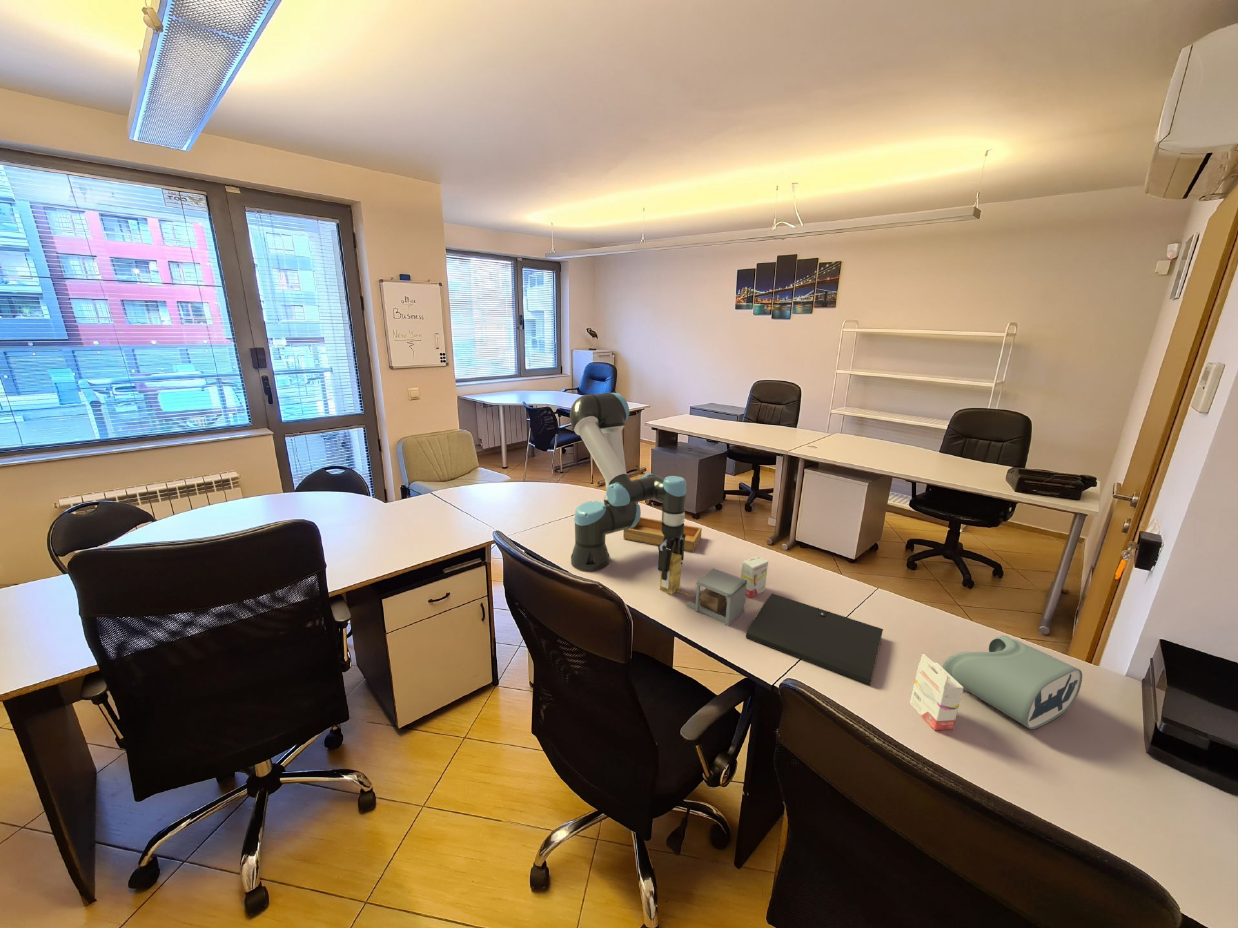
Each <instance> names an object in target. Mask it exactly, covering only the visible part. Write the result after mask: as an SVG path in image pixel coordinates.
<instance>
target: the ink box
mask: <svg viewBox="0 0 1238 928" xmlns="http://www.w3.org/2000/svg"><path fill="white" fill-rule="evenodd" d="M768 565H769V561H768V560H767V559H765V558H762V557H761V556H759V555H755V556H753V557H750V558H747V559H745V560H743V562H742V563H741V573H740V578H742V579H744V580H747V586H746V596H745V597H746V598H749V599H751V598H753V597H755V596H757V595H759V594H761V593H763V592H765V590H766V585H767V584H766V583H767V576H768V575H767V574H768V568H769V567H768Z"/></svg>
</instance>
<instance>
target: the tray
mask: <svg viewBox="0 0 1238 928" xmlns="http://www.w3.org/2000/svg"><path fill="white" fill-rule="evenodd" d="M702 530H703V528H702V527H697V526H693V525H688V524H684V533H683V534H685V535H686V537H685V542H684V552H688V553H694V552H695V549H696V548H697V546H698V544H699V542H700V540H701V538H702ZM622 537H623V539H624V540H629V541H633V542H640V543H645V544H650V545H655V546H658V545H659V544H662V543H663V540H664V535H663V533H662V520H658V519H655V518H654V519H653V518H649V517H648V518H647V517H643V516H640V520H639V522H638V523H637V525H636V526H634V527H632V528H629V529H627V530H623V536H622Z"/></svg>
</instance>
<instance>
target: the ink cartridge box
mask: <svg viewBox="0 0 1238 928" xmlns="http://www.w3.org/2000/svg"><path fill="white" fill-rule="evenodd" d="M917 666H918V667H917V669H916V674H915V679H914V683H913V688H912V692H911V696H910V701H909V704H910V705H911V706H912V707H913V708H914V710H916V712H917V713H918V714H919V715H920V716H921V718H922V719H924V721H925V723H927V724H928V725H929V726H930V727H931V729H933V730H934V731H945V730H953V729H954V726H955V722H956V718H957V715H958V710H959V707H960V703H961V700H962V699H961V698H962V695H963V691H964V689H963V686H961V685H960V684H959V683H958V682H957V681H956V680H955V679H954V678H953V677H952V676H951V675H950V674H949V673H948V672H946V671H945V670H944V669H943V666H941V665H940V664H939V663H938V662H934V661H932V660H931V659H930V658H929V656H927V655H926V654H925V653H922V655H921V657H920V661H919V663H918V665H917Z"/></svg>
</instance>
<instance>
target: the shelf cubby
mask: <svg viewBox="0 0 1238 928" xmlns="http://www.w3.org/2000/svg"><path fill="white" fill-rule="evenodd" d="M695 585H696V592H695V597H696V599H695V602H692V601H690V600H687V601H686V606H687V607H689V608H691V609H693V610H694V612H697V613H699V612H700V613H702V614H704V615H706V616H709V617H711V618H713V619H716V620H717V621H720V622H722V623H724V625H725V626H726V627H729V626H730V625H731V624H732V623H733V622H734V621H735V620H736V619H737V618H738V617H739V616H740V615H741V614H742V613H743V612H744V611H745V605H746V597H747V596H746V586H747V580H744V579H742V578H741V577H739V576H737V575H734V574H731V573H728V572H726V571H724V570H723V571H722V570H719V569H718V568H715V567H713V568H712V569H710V570H709V571H707V572H706V573H705V574H703V576H701V577H700V578H699V579H696V583H695ZM701 587H702V588H704V589H706V588H707V589H709V590H712V591H714V592H717V593H719V594H721V595H724V596H726V608H725V609H726V610H725V616H724V615H722V614H720V613H719V614H717V613H715V612H713V611H711V610H708V609H706V608H704V607H701V606H700V601H699V598H701V592H702V591H703V590H701Z"/></svg>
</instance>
